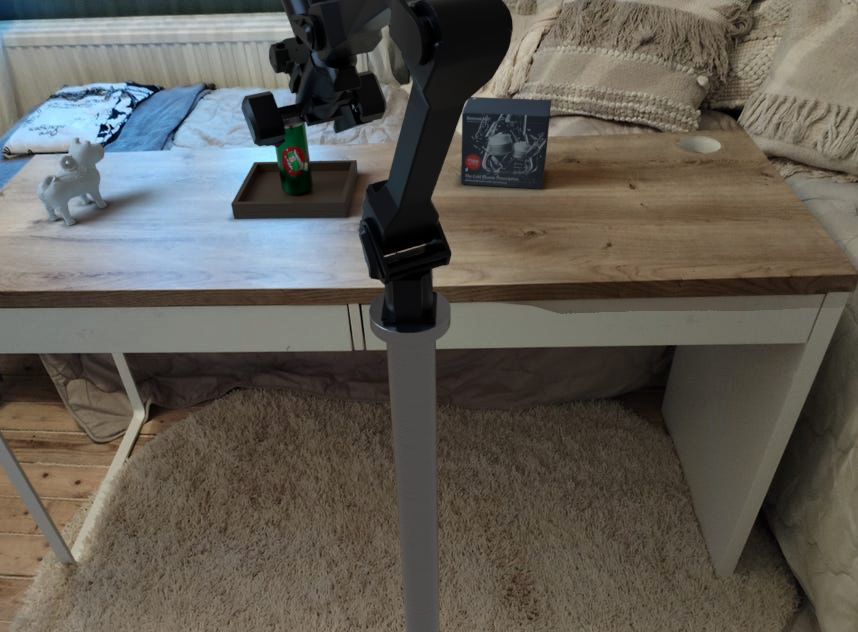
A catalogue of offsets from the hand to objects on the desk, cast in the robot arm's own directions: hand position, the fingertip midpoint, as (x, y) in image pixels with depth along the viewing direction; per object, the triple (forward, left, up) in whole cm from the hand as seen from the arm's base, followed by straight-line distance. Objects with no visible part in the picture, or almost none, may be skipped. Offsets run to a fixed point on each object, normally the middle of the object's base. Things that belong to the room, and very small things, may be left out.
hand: (305, 137), depth 101 cm
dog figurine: (+3, +39, -12) cm, 41 cm away
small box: (+12, -29, -12) cm, 34 cm away
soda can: (+6, +4, -11) cm, 14 cm away
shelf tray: (+7, +4, -12) cm, 14 cm away
